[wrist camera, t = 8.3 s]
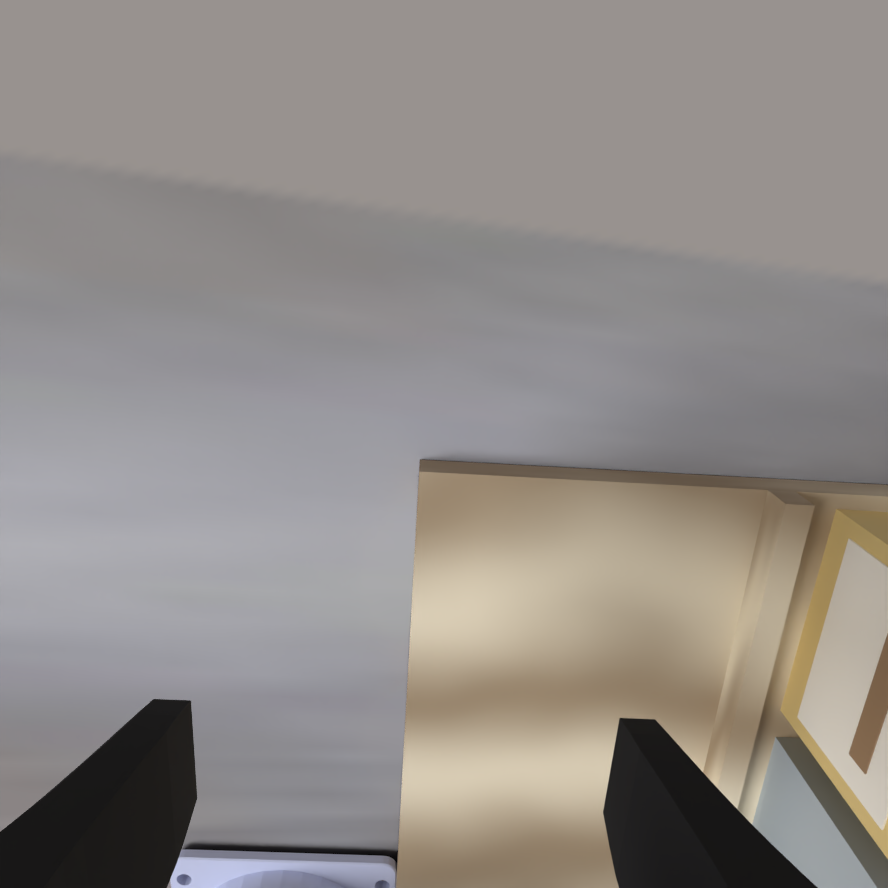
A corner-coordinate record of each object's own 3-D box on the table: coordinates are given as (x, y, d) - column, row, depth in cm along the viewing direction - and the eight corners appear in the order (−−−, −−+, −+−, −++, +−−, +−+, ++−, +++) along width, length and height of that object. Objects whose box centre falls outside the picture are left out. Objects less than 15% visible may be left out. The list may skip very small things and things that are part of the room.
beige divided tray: (875, 885, 25) (915, 945, 23) (397, 871, 24) (393, 930, 22) (1014, 491, 20) (1082, 522, 18) (420, 459, 20) (418, 487, 17)
